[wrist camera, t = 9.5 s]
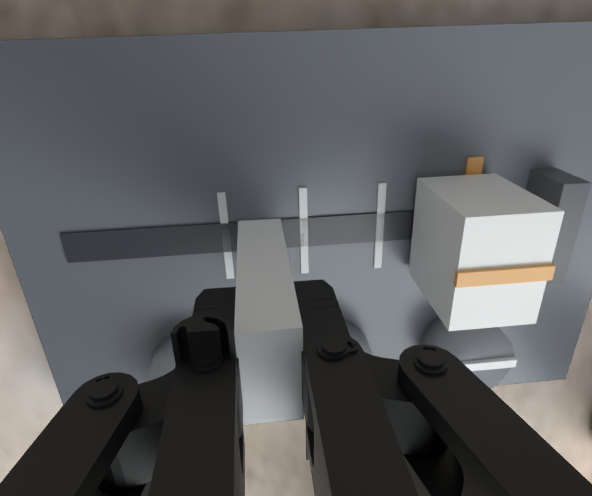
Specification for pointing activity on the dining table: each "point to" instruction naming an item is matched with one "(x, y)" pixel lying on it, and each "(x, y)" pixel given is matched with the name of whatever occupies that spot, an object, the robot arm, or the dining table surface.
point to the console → (283, 178)
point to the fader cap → (482, 250)
